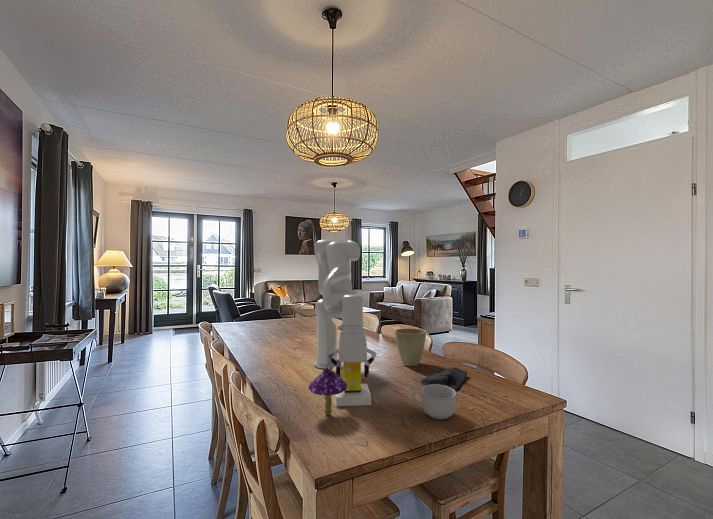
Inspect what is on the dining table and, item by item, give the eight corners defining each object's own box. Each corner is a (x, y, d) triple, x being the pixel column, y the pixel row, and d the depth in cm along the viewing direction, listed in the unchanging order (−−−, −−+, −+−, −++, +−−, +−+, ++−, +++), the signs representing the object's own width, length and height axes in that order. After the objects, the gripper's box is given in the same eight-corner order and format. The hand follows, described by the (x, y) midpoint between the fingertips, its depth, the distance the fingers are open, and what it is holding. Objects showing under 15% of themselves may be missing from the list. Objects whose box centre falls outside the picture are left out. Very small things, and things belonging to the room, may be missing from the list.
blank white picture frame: (335, 392, 127) (335, 384, 127) (367, 391, 128) (367, 383, 128) (336, 406, 115) (336, 397, 115) (371, 405, 116) (371, 395, 116)
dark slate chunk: (473, 378, 144) (473, 367, 144) (454, 394, 127) (454, 381, 127) (439, 371, 153) (439, 360, 153) (417, 385, 136) (417, 373, 136)
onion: (325, 383, 137) (325, 365, 137) (336, 377, 144) (336, 360, 144) (343, 386, 133) (342, 368, 134) (352, 380, 140) (352, 363, 141)
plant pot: (430, 362, 165) (430, 329, 165) (419, 370, 152) (419, 335, 153) (402, 358, 173) (402, 326, 173) (389, 365, 160) (389, 331, 161)
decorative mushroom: (304, 423, 103) (305, 373, 103) (312, 405, 115) (312, 361, 115) (345, 424, 102) (345, 374, 102) (348, 406, 114) (348, 362, 115)
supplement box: (343, 387, 124) (343, 357, 124) (359, 386, 125) (359, 356, 125) (344, 393, 118) (344, 361, 118) (361, 392, 119) (361, 361, 119)
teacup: (457, 410, 111) (457, 386, 111) (455, 425, 101) (455, 398, 101) (414, 405, 116) (414, 381, 116) (409, 418, 106) (409, 392, 106)
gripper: (328, 331, 117) (328, 381, 117) (377, 330, 119) (377, 379, 118) (328, 327, 124) (328, 374, 124) (374, 326, 126) (374, 372, 126)
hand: (352, 376), depth 121 cm, fingers open, 9 cm apart
